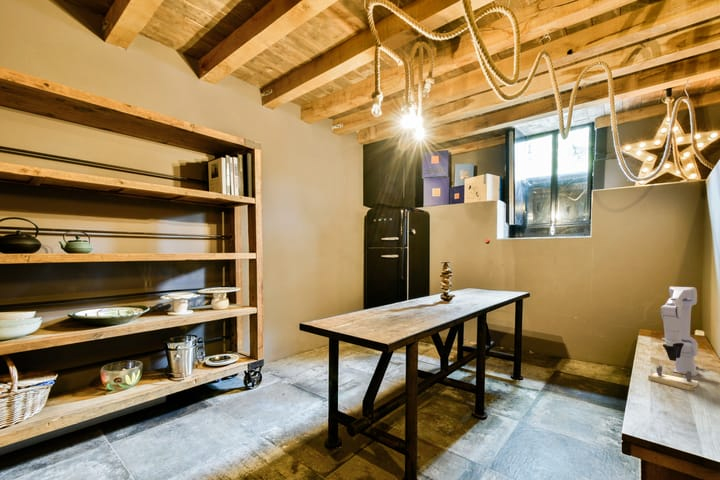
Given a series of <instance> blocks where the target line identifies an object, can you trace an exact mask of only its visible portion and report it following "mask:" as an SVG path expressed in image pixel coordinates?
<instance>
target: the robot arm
mask: <svg viewBox="0 0 720 480" xmlns="http://www.w3.org/2000/svg"><path fill="white" fill-rule="evenodd" d="M668 295H669V298H668V299H667V300H666V302H665V304H663V305H661V306H660V315H661V319H662V321H663V322H662V323H663V331H664V333H663V335H664V337H661V340H662V341H665V343H663V344H662V347H663V348H664V350H665V352H666V354H667V357H668V359H669V361H673V362H674V369H673V370H672V372H673V373H679V374H681V375H682V374H683V375H686V374H685V373H687V371H690V372H691V376H692V377H695V376H697V375H698V374H699V373H700V371H698V370H696V369H697V368H696V359H695V357H696V356H698V354H699V344H698V342H697V340H696V339H695V338H694V337H692V336H691V320H692V319H691V317H692V316H691V315H692V307H693V306H695V305H697V302H698V290H697V288H696V287H695V286H694V287H693V286H669V289H668Z"/></svg>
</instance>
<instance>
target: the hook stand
mask: <svg viewBox="0 0 720 480" xmlns="http://www.w3.org/2000/svg"><path fill="white" fill-rule="evenodd" d="M655 369H656V372H654V373H652V374H651V375H654V376H658V377H662V378H666V379H670V380H674V381H678V382H682V383H686V384H690V385H693V388H696V387H698V385H699V380H694V379H692V377H693V376H692V375H691V372H690V371H687V373H685V374H684V375H685V378H684V377H679V376H674V375H669V374H664V373H662V372H663V366H662V365H658V366H656V368H655Z"/></svg>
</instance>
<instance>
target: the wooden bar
mask: <svg viewBox="0 0 720 480" xmlns="http://www.w3.org/2000/svg"><path fill="white" fill-rule="evenodd" d="M647 378H648V379H647V380H648V381H651V382H655V383H659V384H664V385H667V386H670V387H673V386H674V388H677V389H682V390H684V391H685V390H686V391H689V392H693V391H694V387H693V385H690V384H686V383H682V382H678V381H674V380H670V379H666V378H662V377H658V376H654V375H652V374H648V375H647Z"/></svg>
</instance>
